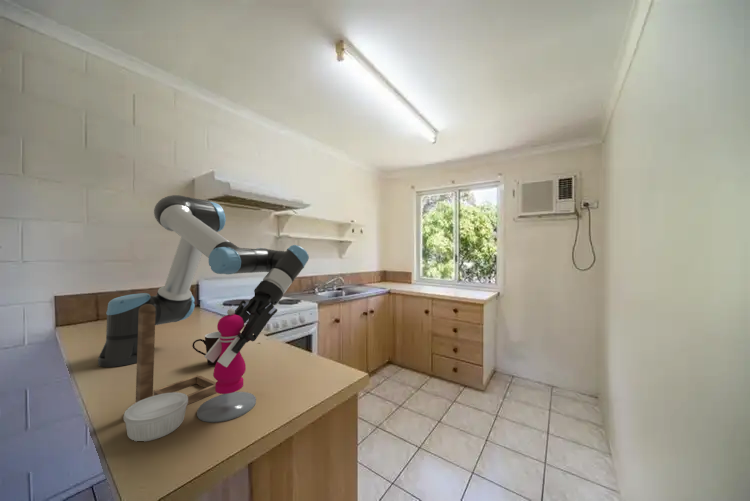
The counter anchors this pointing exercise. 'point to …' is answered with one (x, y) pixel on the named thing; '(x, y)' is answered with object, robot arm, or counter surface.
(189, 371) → the counter surface
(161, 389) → the wooden stand
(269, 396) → the counter surface
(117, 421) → the counter surface
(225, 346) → the pepper mill
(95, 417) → the counter surface
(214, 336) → the coffee mug
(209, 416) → the slate coaster
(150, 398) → the ramekin
